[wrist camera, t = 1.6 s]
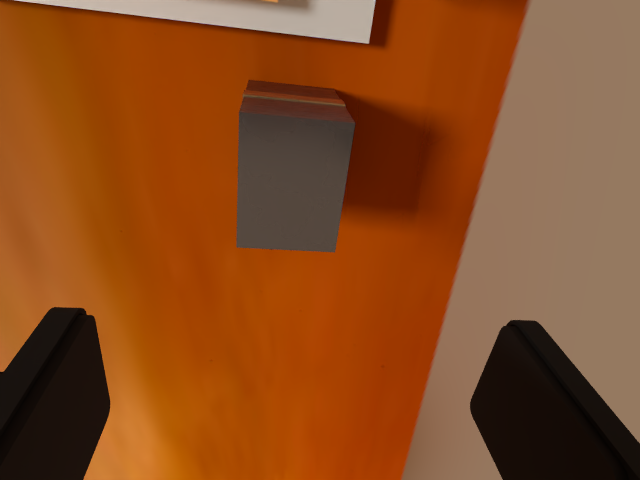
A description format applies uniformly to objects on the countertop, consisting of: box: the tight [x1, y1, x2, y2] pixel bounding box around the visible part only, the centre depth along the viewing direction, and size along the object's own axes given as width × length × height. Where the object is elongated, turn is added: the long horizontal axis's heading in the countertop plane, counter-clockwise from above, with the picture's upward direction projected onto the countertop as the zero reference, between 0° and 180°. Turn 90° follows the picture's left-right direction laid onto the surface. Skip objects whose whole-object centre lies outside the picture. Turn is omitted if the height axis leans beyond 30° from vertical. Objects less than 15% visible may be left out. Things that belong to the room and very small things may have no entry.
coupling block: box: [237, 80, 355, 252], centre depth 21 cm, size 5×6×7 cm
